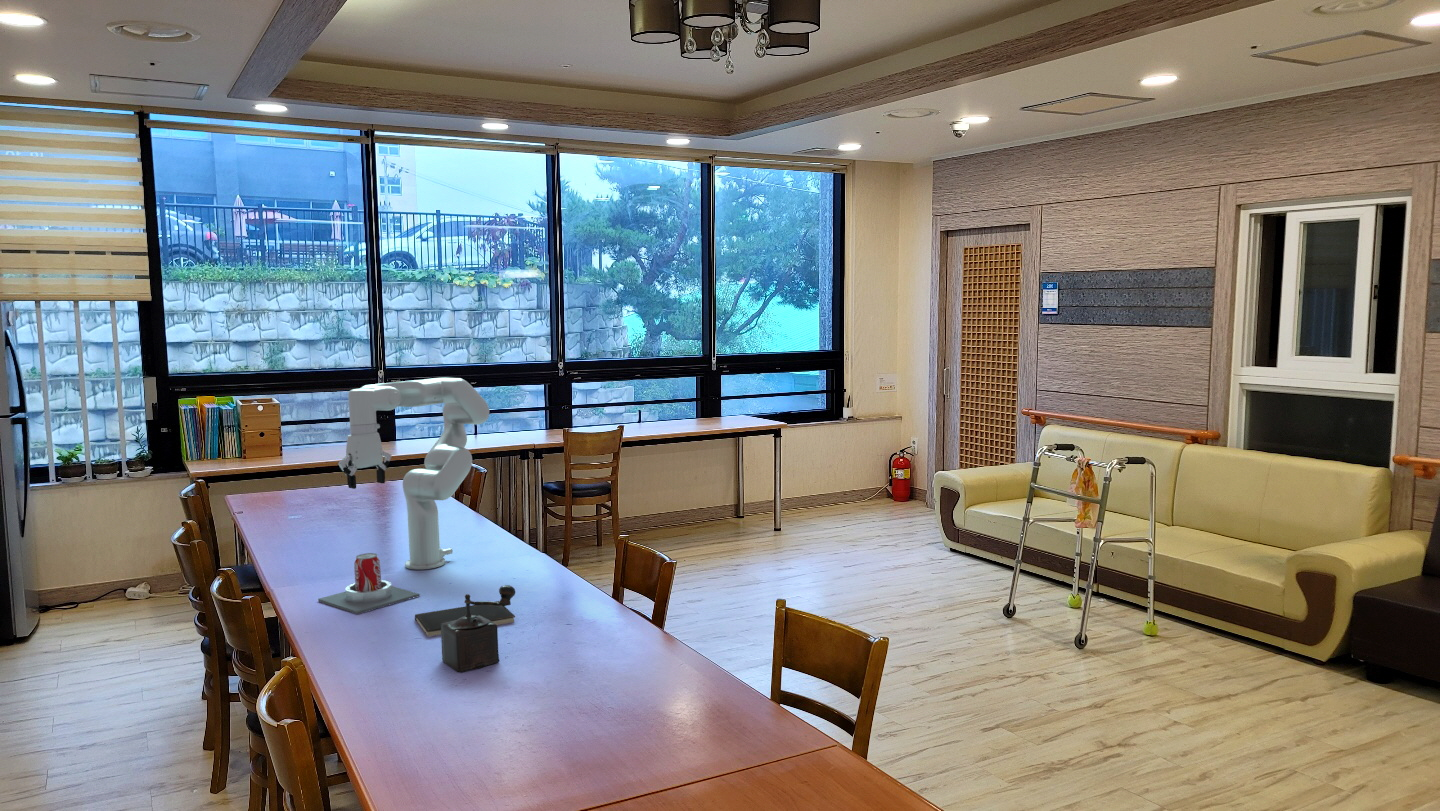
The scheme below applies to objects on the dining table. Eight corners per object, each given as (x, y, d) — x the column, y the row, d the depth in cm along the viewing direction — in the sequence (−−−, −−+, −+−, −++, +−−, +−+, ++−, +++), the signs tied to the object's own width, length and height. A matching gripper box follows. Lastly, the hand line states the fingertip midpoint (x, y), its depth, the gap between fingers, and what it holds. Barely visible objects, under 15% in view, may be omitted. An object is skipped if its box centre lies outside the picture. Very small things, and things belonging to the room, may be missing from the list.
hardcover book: (515, 624, 266) (515, 616, 266) (427, 639, 255) (427, 630, 255) (498, 608, 280) (498, 600, 280) (415, 622, 269) (414, 613, 269)
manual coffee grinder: (459, 674, 230) (456, 598, 228) (440, 661, 239) (437, 587, 237) (521, 658, 239) (518, 585, 237) (500, 646, 248) (497, 575, 246)
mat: (379, 585, 303) (379, 582, 303) (419, 596, 291) (419, 593, 290) (318, 601, 287) (318, 598, 287) (357, 614, 275) (357, 611, 275)
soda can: (373, 600, 285) (371, 559, 284) (351, 599, 286) (348, 558, 285) (386, 593, 292) (384, 552, 290) (364, 592, 293) (362, 552, 292)
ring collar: (375, 587, 298) (375, 577, 297) (400, 594, 290) (399, 584, 290) (337, 597, 288) (336, 587, 288) (361, 605, 280) (361, 595, 280)
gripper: (381, 425, 309) (384, 479, 311) (330, 432, 296) (333, 488, 298) (396, 427, 305) (399, 482, 306) (344, 433, 291) (347, 491, 293)
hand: (366, 485), depth 302 cm, fingers open, 9 cm apart
